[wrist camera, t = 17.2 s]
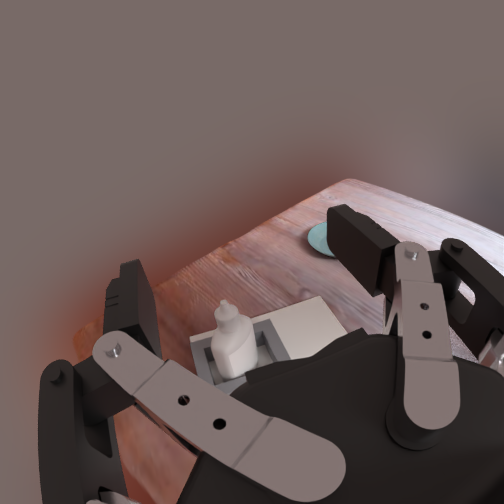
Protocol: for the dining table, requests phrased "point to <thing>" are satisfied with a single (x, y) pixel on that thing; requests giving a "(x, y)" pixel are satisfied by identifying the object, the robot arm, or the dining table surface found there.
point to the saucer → (319, 239)
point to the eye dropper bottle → (233, 342)
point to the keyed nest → (274, 339)
